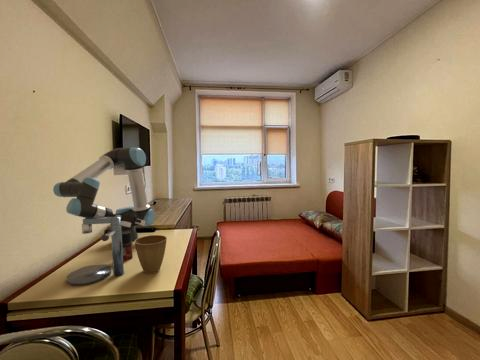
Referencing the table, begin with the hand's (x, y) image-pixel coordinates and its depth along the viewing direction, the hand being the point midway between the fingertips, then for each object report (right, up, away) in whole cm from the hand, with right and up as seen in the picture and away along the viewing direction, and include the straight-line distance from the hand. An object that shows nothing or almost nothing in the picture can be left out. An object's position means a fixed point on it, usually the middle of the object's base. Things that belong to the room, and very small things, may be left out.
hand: (137, 224), depth 139 cm
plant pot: (+16, -20, -20) cm, 32 cm away
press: (-7, -20, -27) cm, 34 cm away
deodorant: (-4, -19, -4) cm, 20 cm away
